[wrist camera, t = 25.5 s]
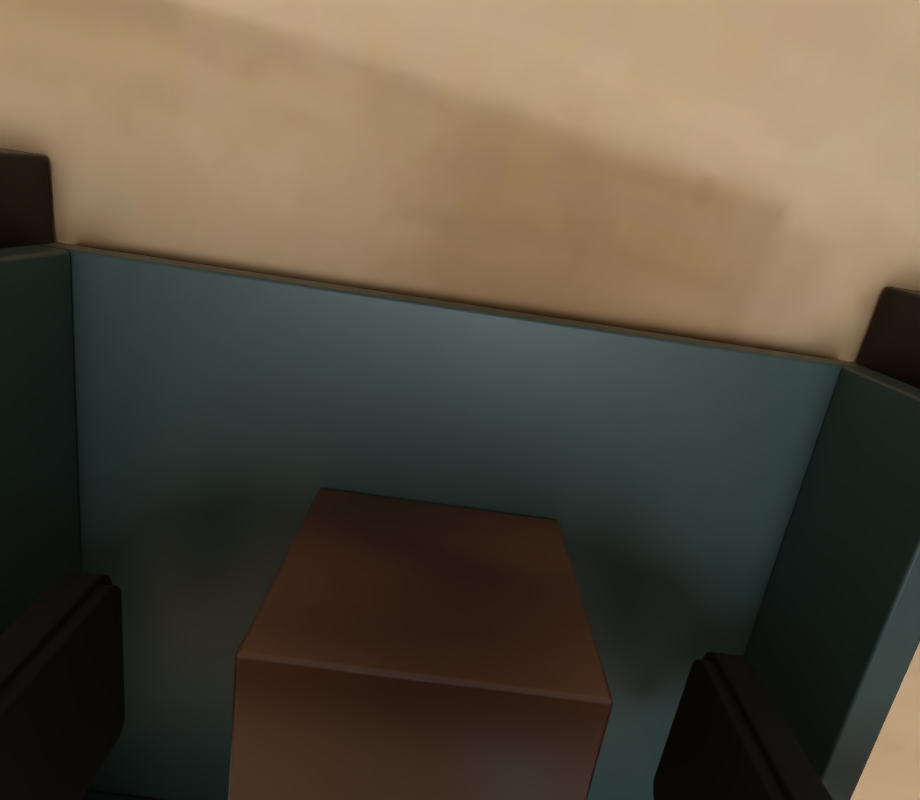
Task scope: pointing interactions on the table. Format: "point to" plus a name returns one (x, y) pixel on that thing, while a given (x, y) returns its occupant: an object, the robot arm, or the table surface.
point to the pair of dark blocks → (29, 223)
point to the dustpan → (449, 489)
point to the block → (418, 661)
